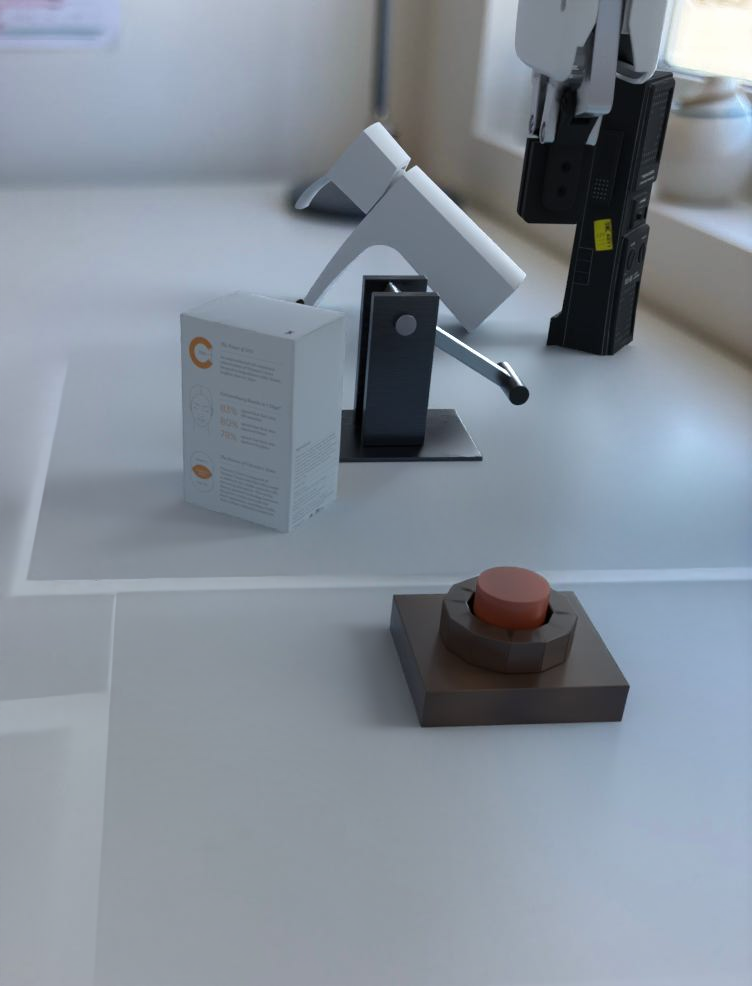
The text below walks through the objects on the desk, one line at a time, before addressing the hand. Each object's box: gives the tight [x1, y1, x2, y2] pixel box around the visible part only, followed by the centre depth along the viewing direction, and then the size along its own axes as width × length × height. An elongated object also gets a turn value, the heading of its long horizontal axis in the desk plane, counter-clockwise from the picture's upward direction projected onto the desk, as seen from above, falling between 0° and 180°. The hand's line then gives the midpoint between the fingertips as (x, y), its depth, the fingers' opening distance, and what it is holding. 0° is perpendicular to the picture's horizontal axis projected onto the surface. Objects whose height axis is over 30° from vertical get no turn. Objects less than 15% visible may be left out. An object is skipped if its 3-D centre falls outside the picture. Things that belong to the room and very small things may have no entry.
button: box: [473, 565, 552, 630], centre depth 56 cm, size 4×4×2 cm
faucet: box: [294, 121, 527, 334], centre depth 107 cm, size 6×16×20 cm
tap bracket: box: [339, 274, 484, 464], centre depth 80 cm, size 12×9×12 cm
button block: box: [389, 575, 631, 728], centre depth 58 cm, size 10×9×4 cm
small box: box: [179, 290, 348, 534], centre depth 70 cm, size 8×6×13 cm
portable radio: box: [546, 69, 676, 357], centre depth 95 cm, size 8×6×25 cm
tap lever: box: [370, 282, 530, 406], centre depth 79 cm, size 12×5×2 cm
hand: (548, 219), depth 61 cm, fingers closed
